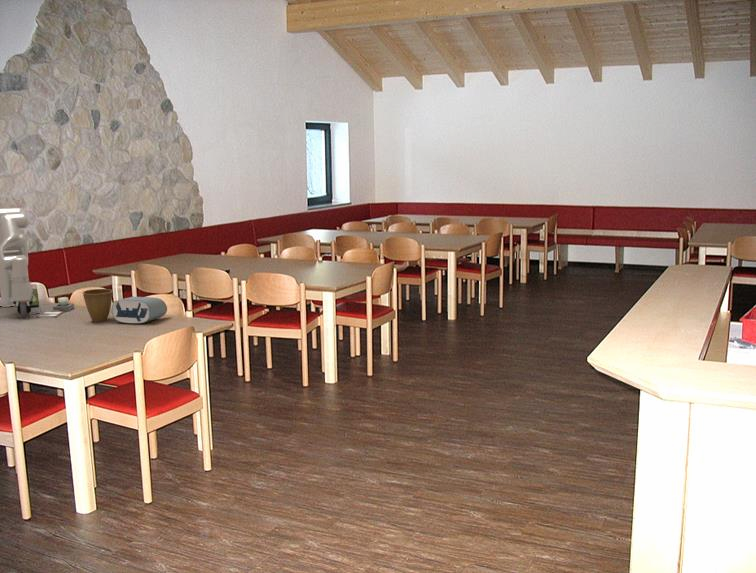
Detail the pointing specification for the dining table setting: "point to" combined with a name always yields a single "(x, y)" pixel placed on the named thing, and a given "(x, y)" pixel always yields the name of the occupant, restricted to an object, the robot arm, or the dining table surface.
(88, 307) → the plant pot
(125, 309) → the pencil case
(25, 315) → the marker
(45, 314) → the clipboard
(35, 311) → the tea box
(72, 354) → the dining table surface
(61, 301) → the button
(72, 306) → the button housing
